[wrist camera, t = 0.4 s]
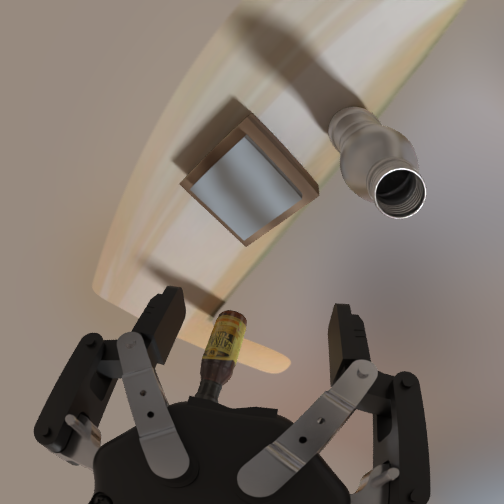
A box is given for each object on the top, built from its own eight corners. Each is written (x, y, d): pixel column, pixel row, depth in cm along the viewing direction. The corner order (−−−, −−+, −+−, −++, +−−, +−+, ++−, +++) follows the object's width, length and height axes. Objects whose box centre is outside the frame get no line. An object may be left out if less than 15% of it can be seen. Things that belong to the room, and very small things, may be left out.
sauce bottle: (242, 307, 54) (217, 399, 38) (251, 327, 57) (231, 413, 41) (212, 309, 56) (181, 395, 40) (223, 328, 59) (198, 410, 43)
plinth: (252, 112, 32) (244, 119, 28) (318, 184, 36) (319, 201, 32) (188, 174, 39) (174, 188, 35) (250, 233, 43) (243, 253, 39)
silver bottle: (370, 158, 32) (424, 247, 17) (321, 145, 33) (337, 225, 17) (383, 113, 28) (460, 165, 13) (331, 98, 29) (365, 129, 13)
